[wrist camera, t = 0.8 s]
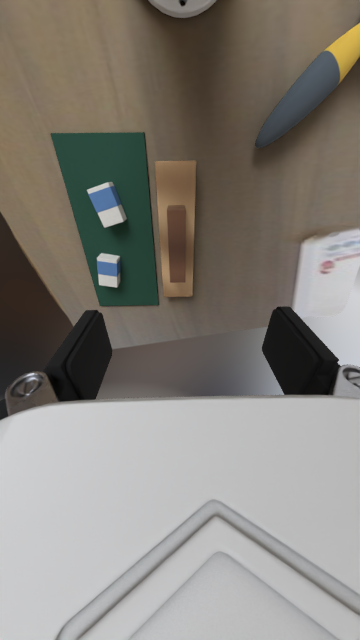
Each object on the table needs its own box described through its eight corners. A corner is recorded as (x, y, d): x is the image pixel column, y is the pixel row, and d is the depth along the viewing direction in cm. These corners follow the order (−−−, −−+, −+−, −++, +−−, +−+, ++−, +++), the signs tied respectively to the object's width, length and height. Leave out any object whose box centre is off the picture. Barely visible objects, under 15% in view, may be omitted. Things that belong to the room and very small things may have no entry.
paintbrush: (268, 170, 29) (284, 169, 24) (247, 139, 27) (259, 133, 23) (436, -17, 20) (502, -66, 16) (422, -82, 18) (493, -158, 14)
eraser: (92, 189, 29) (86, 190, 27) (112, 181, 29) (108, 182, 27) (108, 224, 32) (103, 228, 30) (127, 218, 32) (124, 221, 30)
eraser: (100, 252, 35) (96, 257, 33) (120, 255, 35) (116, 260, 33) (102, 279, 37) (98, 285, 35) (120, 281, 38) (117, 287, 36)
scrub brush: (156, 162, 28) (151, 158, 22) (194, 161, 28) (199, 158, 22) (164, 290, 40) (162, 310, 34) (191, 290, 40) (194, 309, 34)
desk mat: (51, 133, 26) (50, 133, 26) (144, 132, 26) (143, 132, 26) (100, 304, 41) (99, 305, 41) (158, 303, 41) (158, 304, 41)
